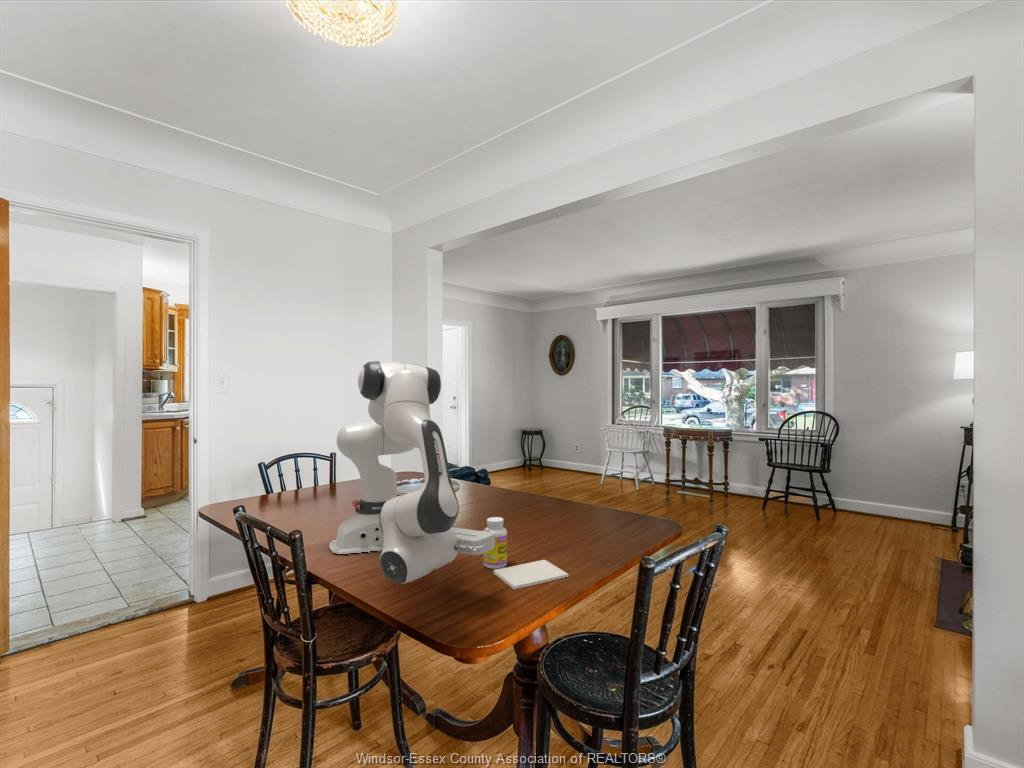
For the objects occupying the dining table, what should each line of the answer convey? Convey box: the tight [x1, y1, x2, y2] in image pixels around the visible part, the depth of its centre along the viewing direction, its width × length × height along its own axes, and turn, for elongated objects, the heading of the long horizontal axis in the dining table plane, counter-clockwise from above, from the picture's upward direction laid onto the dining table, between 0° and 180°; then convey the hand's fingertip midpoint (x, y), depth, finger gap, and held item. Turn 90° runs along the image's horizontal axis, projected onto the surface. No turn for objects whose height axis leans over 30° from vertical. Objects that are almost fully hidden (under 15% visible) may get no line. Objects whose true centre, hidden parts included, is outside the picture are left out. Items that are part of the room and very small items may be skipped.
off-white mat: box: [492, 559, 570, 590], centre depth 130 cm, size 16×12×1 cm
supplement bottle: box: [483, 516, 508, 570], centre depth 138 cm, size 7×7×13 cm
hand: (471, 530), depth 127 cm, fingers open, 8 cm apart
